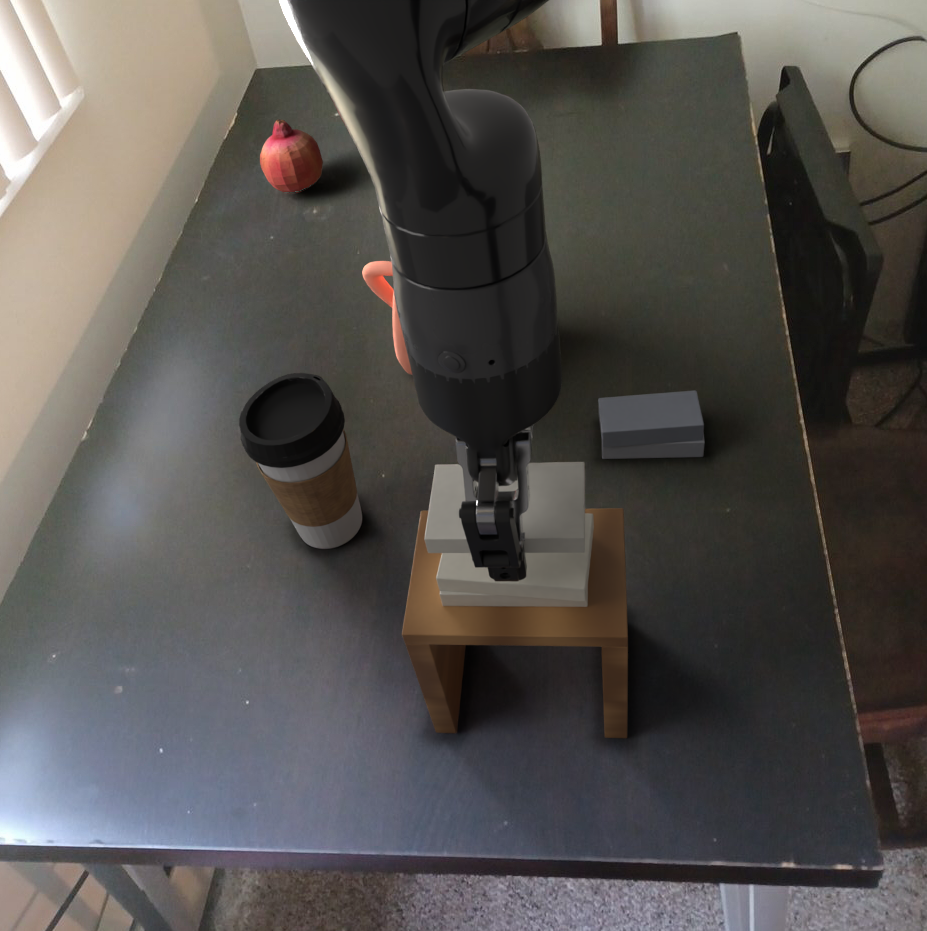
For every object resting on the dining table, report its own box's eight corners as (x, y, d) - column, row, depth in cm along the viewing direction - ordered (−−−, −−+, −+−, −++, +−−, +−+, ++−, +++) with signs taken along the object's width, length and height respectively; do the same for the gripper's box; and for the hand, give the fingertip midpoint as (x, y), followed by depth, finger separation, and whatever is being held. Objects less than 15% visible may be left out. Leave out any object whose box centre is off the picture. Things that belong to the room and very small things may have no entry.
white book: (585, 476, 56) (584, 461, 55) (584, 553, 52) (584, 538, 51) (438, 478, 57) (435, 464, 56) (427, 553, 53) (424, 539, 52)
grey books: (699, 420, 84) (701, 389, 81) (703, 460, 81) (706, 429, 78) (599, 423, 86) (598, 393, 83) (599, 462, 82) (598, 432, 79)
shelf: (623, 618, 71) (623, 507, 61) (627, 738, 65) (627, 637, 54) (449, 617, 74) (420, 510, 63) (435, 733, 67) (401, 634, 57)
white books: (594, 529, 60) (593, 503, 58) (594, 614, 56) (593, 589, 54) (451, 531, 62) (445, 505, 60) (441, 613, 57) (434, 589, 55)
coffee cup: (395, 512, 82) (359, 393, 71) (330, 576, 78) (281, 461, 67) (331, 474, 86) (287, 356, 75) (266, 533, 82) (210, 418, 71)
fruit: (262, 207, 120) (238, 137, 112) (282, 174, 125) (261, 105, 117) (318, 207, 118) (298, 136, 110) (337, 174, 123) (319, 104, 115)
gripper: (554, 426, 38) (571, 634, 51) (561, 229, 48) (574, 445, 60) (381, 431, 39) (439, 632, 52) (421, 237, 49) (462, 447, 61)
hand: (511, 531), depth 56 cm, fingers closed on white book, 5 cm apart
